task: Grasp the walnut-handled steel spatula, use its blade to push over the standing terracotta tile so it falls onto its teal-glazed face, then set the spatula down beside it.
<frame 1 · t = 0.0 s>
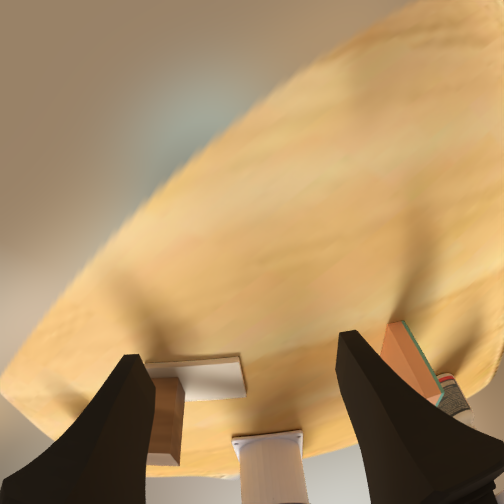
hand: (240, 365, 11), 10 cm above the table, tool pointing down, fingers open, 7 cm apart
tile: (389, 350, 26), on the table
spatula: (166, 380, 26), on the table
pill bottle: (433, 385, 31), on the table
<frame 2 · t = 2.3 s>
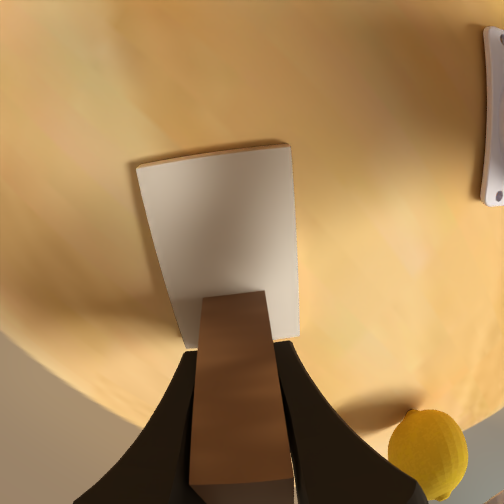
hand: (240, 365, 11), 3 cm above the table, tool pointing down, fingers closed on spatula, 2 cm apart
lemon: (409, 408, 20), on the table
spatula: (238, 313, 14), on the table, touching gripper
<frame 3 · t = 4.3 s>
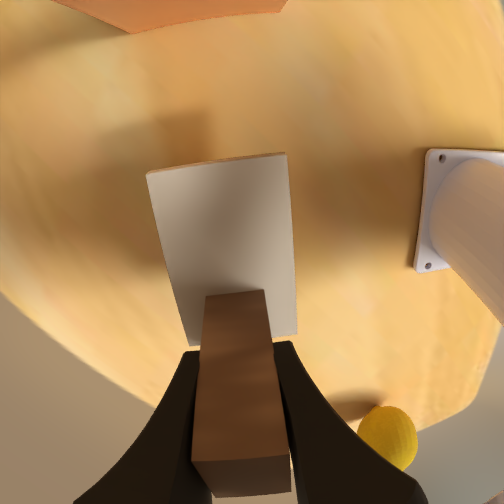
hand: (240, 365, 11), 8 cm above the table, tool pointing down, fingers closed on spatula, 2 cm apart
tile: (202, 4, 11), on the table
lemon: (374, 405, 27), on the table
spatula: (239, 312, 14), point 4 cm above the table, touching gripper
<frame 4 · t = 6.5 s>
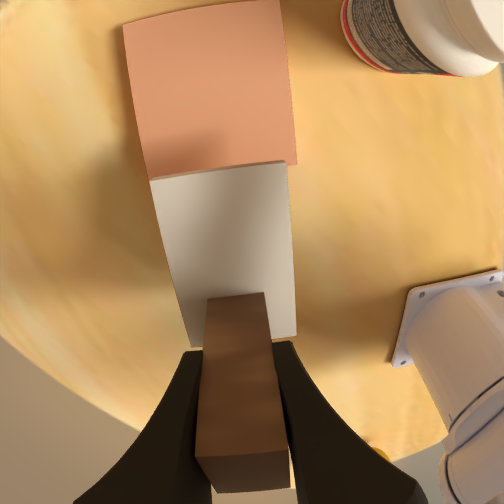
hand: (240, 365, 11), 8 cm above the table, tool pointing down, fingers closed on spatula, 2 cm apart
tile: (222, 169, 15), on the table, tilted 90°
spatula: (239, 314, 15), point 4 cm above the table, touching gripper
pill bottle: (384, 27, 12), on the table
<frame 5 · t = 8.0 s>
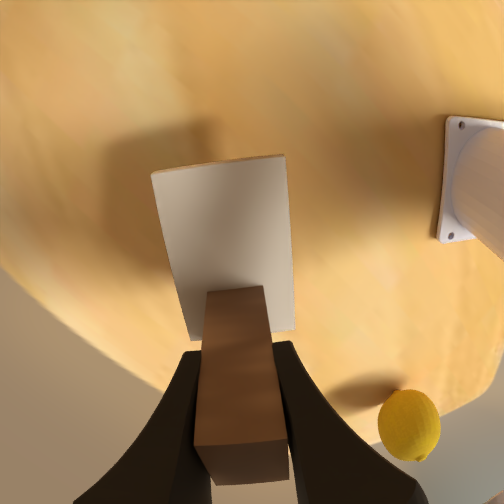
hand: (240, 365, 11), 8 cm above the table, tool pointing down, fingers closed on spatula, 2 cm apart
lemon: (394, 389, 26), on the table
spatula: (239, 308, 15), point 4 cm above the table, touching gripper
when the fingers open (4 cm above the table, at t = 9.1 s): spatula stays where it is, on the table.
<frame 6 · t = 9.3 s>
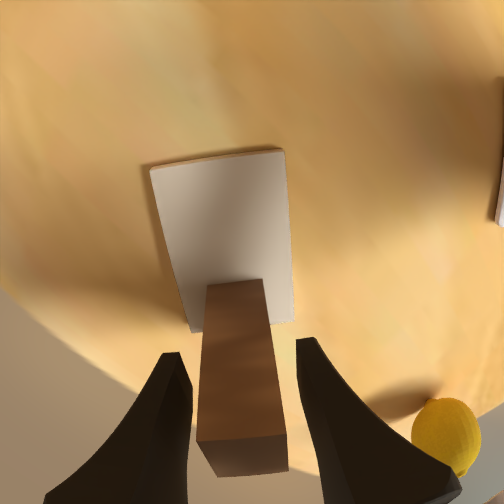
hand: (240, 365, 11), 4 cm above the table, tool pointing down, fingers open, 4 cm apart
lemon: (427, 398, 22), on the table
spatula: (238, 300, 15), on the table
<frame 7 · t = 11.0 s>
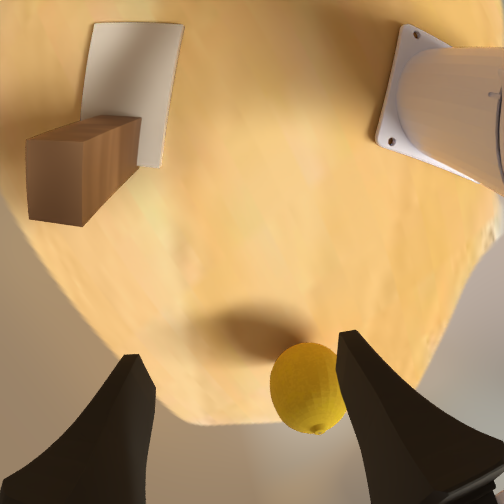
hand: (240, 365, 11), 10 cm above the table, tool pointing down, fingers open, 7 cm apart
lemon: (299, 345, 25), on the table
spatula: (121, 140, 16), on the table
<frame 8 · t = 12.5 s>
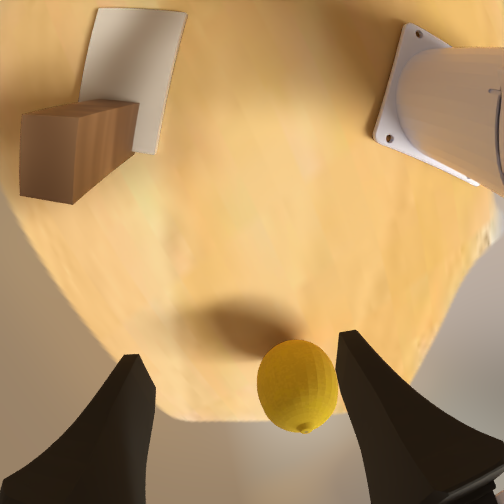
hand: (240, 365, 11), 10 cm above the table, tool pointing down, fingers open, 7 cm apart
lemon: (288, 342, 25), on the table
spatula: (118, 125, 16), on the table
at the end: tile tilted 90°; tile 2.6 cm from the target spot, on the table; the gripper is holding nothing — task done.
